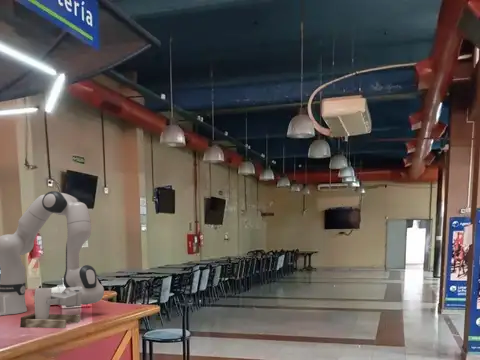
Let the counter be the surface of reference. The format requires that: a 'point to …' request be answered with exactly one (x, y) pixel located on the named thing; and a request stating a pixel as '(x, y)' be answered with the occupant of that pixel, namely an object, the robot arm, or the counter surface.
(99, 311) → the counter surface
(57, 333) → the counter surface
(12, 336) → the counter surface
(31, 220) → the robot arm
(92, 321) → the counter surface
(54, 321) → the brown compartment tray
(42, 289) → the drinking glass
